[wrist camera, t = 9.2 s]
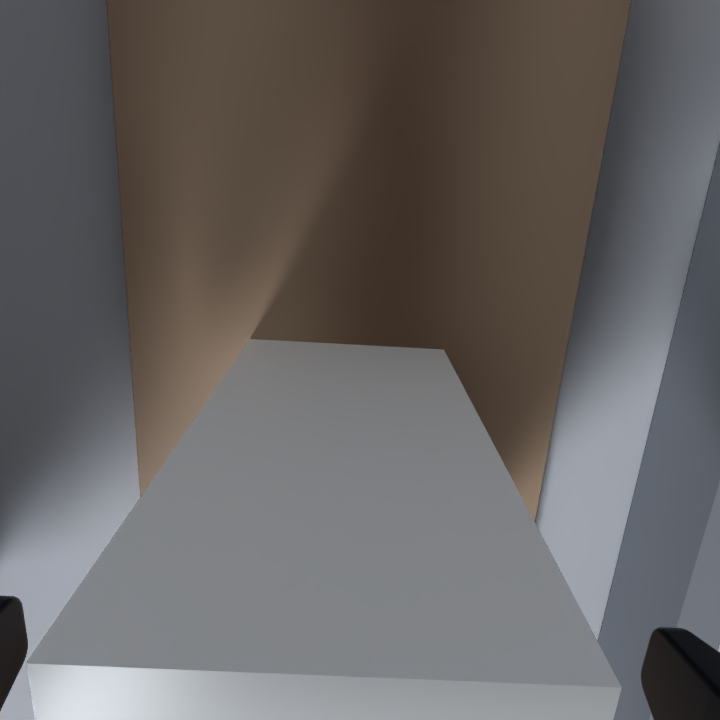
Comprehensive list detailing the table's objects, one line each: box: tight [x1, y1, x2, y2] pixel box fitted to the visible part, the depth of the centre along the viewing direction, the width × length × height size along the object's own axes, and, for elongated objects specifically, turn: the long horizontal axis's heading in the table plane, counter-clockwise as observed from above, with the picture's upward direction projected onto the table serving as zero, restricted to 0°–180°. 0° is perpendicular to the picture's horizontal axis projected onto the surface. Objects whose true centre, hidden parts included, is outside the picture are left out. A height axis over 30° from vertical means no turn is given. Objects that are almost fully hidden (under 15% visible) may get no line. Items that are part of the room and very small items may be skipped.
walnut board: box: [107, 0, 631, 522], centre depth 12 cm, size 9×20×1 cm, turn 176°
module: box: [26, 339, 622, 720], centre depth 8 cm, size 4×6×8 cm
